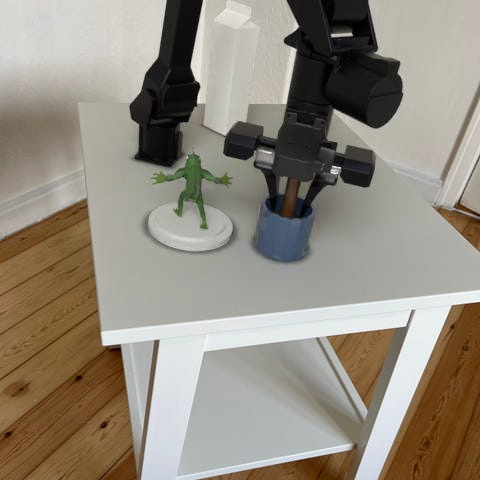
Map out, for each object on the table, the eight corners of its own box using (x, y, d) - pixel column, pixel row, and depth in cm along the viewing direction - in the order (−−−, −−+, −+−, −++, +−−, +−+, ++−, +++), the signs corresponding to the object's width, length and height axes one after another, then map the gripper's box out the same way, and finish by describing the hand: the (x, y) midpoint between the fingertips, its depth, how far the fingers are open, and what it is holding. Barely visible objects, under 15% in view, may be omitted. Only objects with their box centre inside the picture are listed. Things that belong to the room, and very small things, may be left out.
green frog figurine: (225, 208, 85) (233, 144, 79) (238, 252, 76) (249, 183, 70) (146, 205, 83) (148, 138, 76) (150, 250, 74) (152, 179, 67)
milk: (224, 136, 107) (240, 8, 93) (202, 125, 109) (214, -1, 95) (245, 130, 111) (263, 6, 96) (223, 119, 113) (237, -3, 99)
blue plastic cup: (249, 254, 76) (256, 212, 72) (260, 228, 82) (267, 188, 78) (302, 266, 76) (312, 225, 72) (308, 239, 81) (318, 200, 77)
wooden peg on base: (262, 246, 77) (276, 177, 70) (268, 231, 80) (281, 163, 74) (293, 254, 77) (309, 185, 70) (298, 238, 80) (314, 171, 73)
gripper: (219, 100, 60) (205, 225, 70) (389, 137, 58) (350, 260, 68) (241, 73, 69) (226, 188, 79) (390, 105, 67) (356, 218, 77)
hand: (287, 213), depth 75 cm, fingers open, 3 cm apart
